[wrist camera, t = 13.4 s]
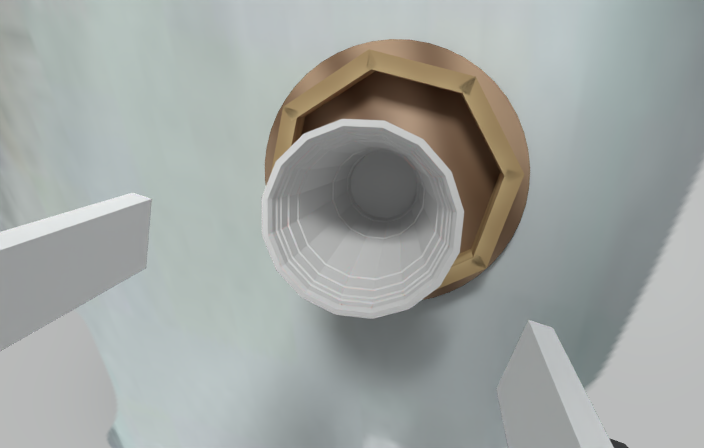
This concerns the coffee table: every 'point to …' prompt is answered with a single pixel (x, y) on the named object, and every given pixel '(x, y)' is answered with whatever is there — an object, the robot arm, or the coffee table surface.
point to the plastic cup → (362, 218)
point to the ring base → (426, 131)
